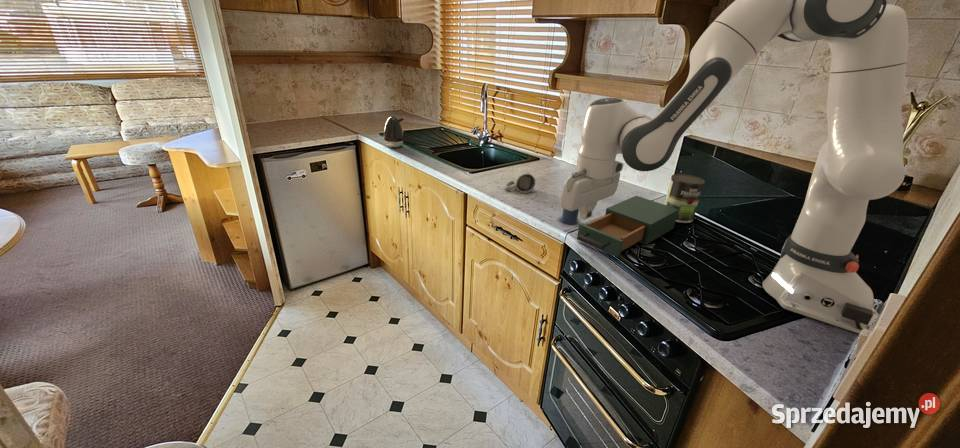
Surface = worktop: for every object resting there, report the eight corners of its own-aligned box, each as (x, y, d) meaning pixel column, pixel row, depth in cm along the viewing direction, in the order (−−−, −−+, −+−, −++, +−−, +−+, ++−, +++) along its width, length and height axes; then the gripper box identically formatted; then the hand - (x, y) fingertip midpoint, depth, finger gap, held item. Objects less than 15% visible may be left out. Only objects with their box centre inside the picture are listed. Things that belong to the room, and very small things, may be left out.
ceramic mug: (528, 185, 163) (530, 167, 159) (534, 192, 155) (536, 173, 152) (503, 186, 161) (504, 168, 158) (508, 193, 154) (509, 174, 150)
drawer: (608, 262, 108) (612, 246, 106) (567, 243, 117) (569, 228, 115) (648, 239, 122) (652, 224, 120) (608, 223, 131) (611, 209, 128)
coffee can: (699, 223, 136) (711, 184, 130) (669, 222, 136) (680, 183, 130) (684, 211, 146) (695, 174, 139) (656, 210, 145) (666, 173, 139)
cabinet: (645, 245, 120) (650, 224, 117) (602, 227, 130) (606, 208, 127) (673, 228, 132) (678, 209, 129) (631, 213, 142) (636, 195, 139)
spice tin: (580, 221, 133) (583, 204, 131) (570, 225, 130) (573, 207, 127) (567, 216, 137) (570, 199, 134) (558, 220, 133) (560, 202, 131)
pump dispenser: (405, 148, 204) (404, 118, 198) (384, 149, 202) (382, 118, 196) (404, 143, 213) (402, 114, 207) (383, 143, 211) (382, 114, 205)
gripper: (580, 177, 91) (571, 232, 96) (627, 163, 103) (616, 212, 109) (558, 170, 95) (550, 223, 101) (605, 157, 107) (596, 204, 113)
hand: (585, 217), depth 105 cm, fingers closed
